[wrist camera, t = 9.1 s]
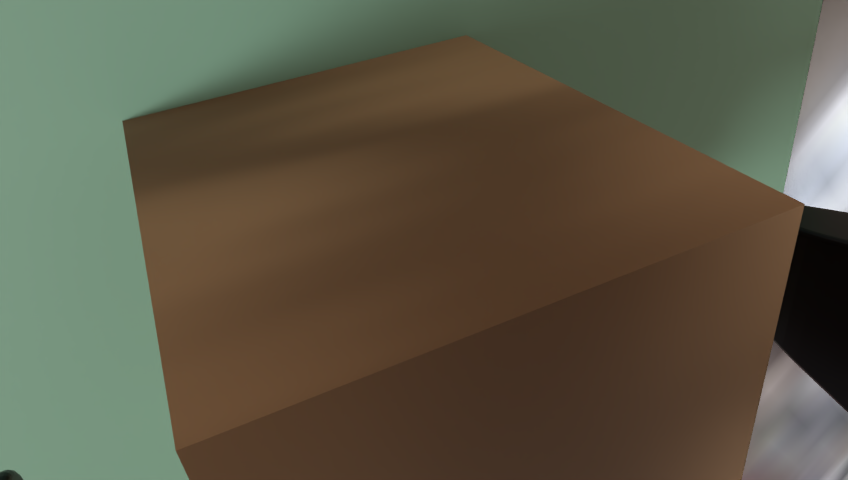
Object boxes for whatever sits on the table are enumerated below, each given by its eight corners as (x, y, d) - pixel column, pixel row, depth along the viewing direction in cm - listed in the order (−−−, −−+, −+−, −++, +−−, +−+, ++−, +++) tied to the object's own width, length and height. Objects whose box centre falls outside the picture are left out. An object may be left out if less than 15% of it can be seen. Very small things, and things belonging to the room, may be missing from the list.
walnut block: (226, 393, 11) (330, 781, 7) (122, 120, 9) (176, 450, 4) (486, 296, 13) (723, 559, 8) (466, 35, 10) (805, 203, 5)
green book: (-95, 585, 14) (-129, 733, 12) (-862, -216, 7) (-1400, -249, 4) (672, 277, 20) (753, 336, 17) (743, -344, 12) (903, -389, 10)
